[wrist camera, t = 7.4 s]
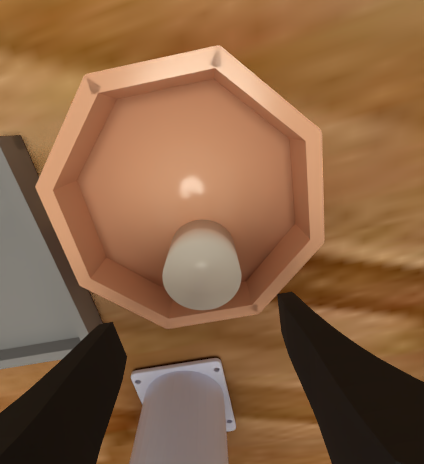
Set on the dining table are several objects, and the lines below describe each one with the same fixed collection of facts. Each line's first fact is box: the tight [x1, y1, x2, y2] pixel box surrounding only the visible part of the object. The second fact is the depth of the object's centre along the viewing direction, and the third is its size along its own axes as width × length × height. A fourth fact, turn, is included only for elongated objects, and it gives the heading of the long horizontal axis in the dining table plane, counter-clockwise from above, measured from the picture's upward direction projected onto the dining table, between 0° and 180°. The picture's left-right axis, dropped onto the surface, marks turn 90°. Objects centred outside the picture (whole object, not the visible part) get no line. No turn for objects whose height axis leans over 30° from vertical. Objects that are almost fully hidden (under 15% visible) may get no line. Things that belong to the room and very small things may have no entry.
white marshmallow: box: [162, 220, 242, 310], centre depth 16 cm, size 4×4×4 cm
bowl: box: [35, 45, 325, 329], centre depth 16 cm, size 15×15×4 cm
